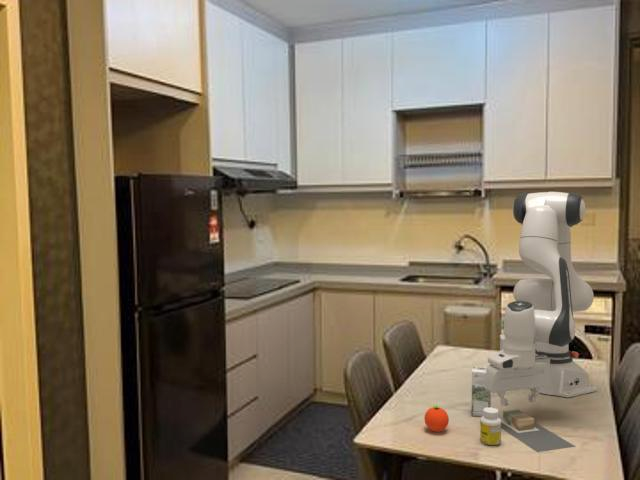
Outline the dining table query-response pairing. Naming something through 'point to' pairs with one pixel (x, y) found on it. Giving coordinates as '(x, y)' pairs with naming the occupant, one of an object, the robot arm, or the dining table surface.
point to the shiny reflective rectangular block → (518, 420)
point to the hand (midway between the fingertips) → (518, 403)
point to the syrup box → (479, 392)
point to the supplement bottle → (490, 428)
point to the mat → (537, 438)
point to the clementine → (436, 419)
